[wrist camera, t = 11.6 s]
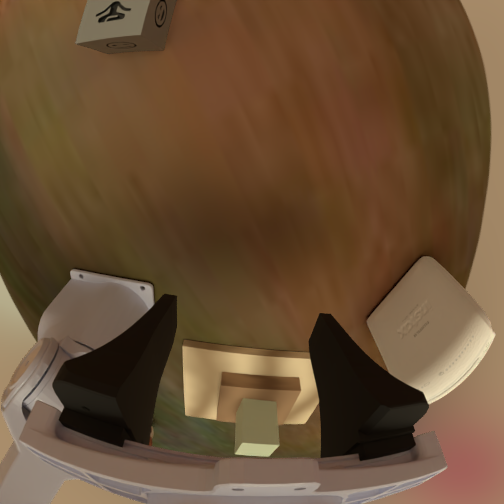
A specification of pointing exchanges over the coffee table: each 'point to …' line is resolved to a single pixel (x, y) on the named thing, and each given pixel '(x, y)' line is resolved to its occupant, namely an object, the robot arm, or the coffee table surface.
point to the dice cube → (125, 25)
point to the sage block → (256, 428)
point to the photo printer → (430, 330)
